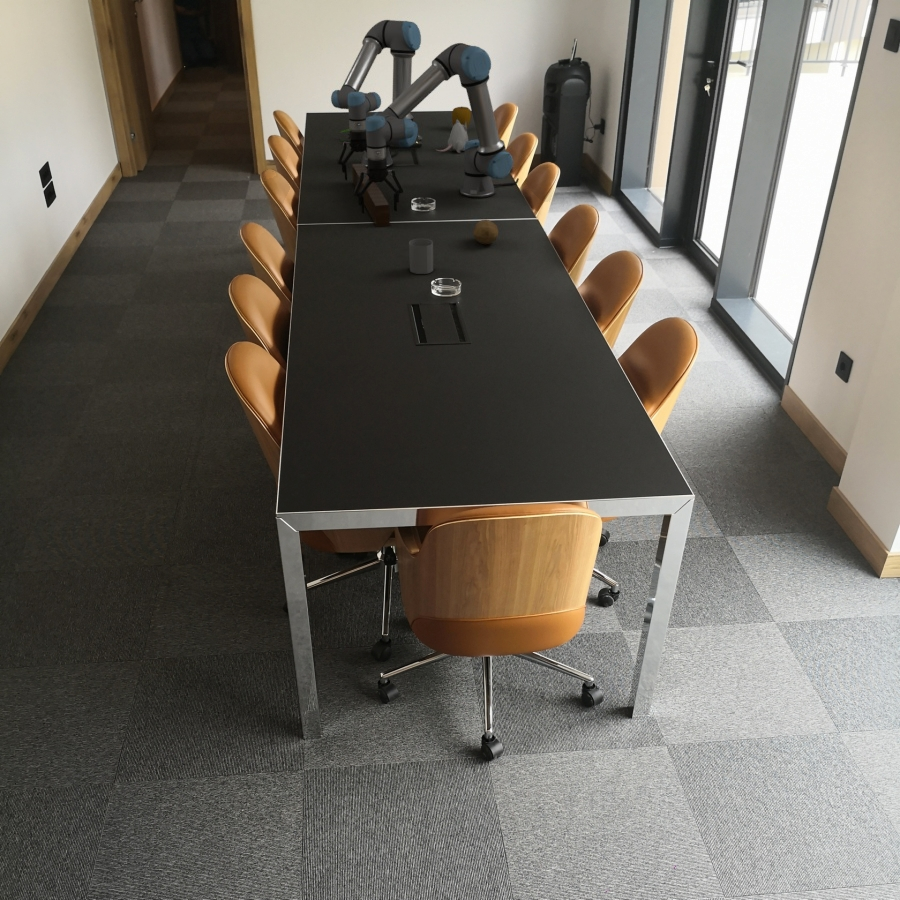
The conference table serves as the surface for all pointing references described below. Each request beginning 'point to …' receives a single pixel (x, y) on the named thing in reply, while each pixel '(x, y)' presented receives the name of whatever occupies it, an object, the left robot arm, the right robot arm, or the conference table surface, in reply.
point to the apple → (461, 115)
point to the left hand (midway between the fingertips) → (360, 178)
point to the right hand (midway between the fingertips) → (379, 211)
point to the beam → (372, 198)
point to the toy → (457, 138)
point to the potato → (485, 232)
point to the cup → (421, 256)
